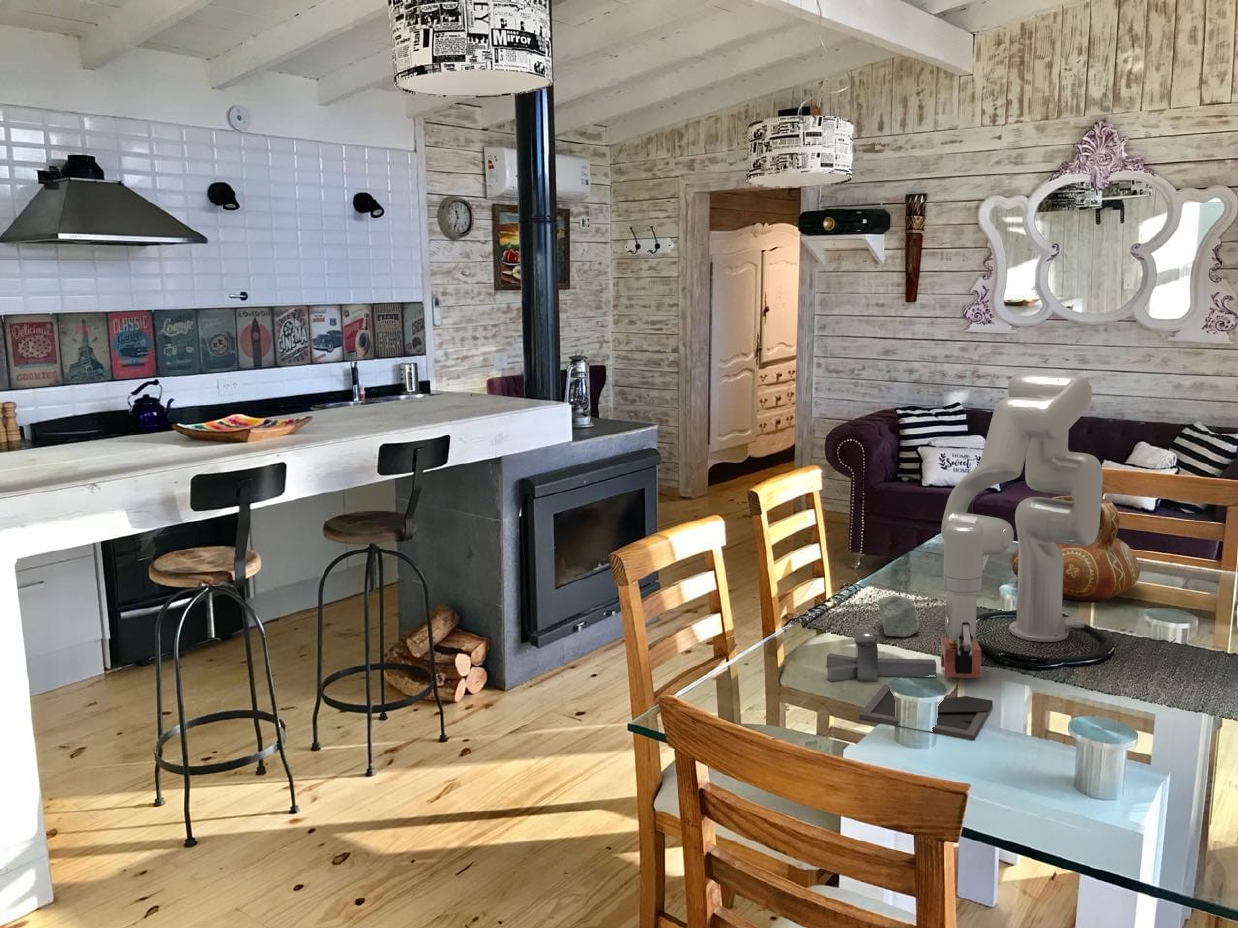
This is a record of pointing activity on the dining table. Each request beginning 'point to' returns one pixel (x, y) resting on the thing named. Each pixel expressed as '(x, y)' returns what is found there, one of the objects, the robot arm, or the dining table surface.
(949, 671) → the block
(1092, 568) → the jug
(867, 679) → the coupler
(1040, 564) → the robot arm
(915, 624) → the decorative stone
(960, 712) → the picture frame
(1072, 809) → the dining table surface
